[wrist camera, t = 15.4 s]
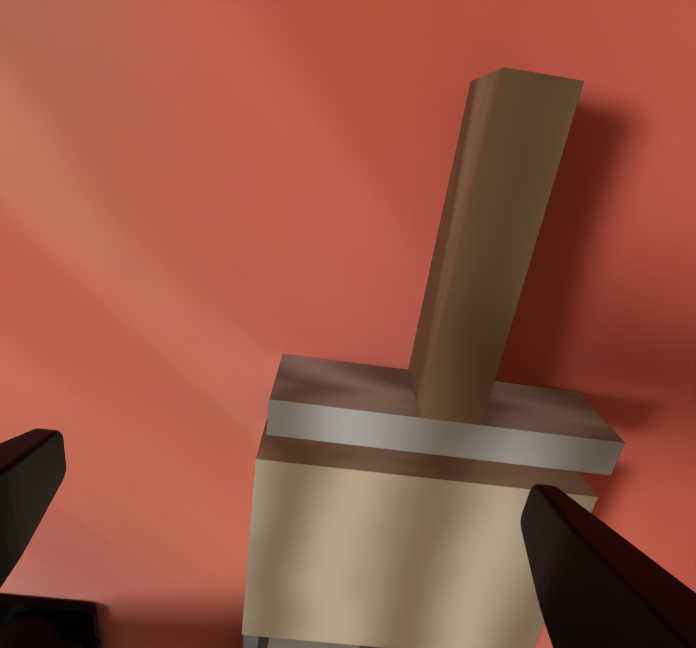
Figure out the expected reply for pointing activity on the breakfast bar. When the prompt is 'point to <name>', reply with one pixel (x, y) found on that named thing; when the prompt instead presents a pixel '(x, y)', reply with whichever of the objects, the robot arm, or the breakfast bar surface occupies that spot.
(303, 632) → the deck
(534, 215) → the scraper
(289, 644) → the tile
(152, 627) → the breakfast bar surface
